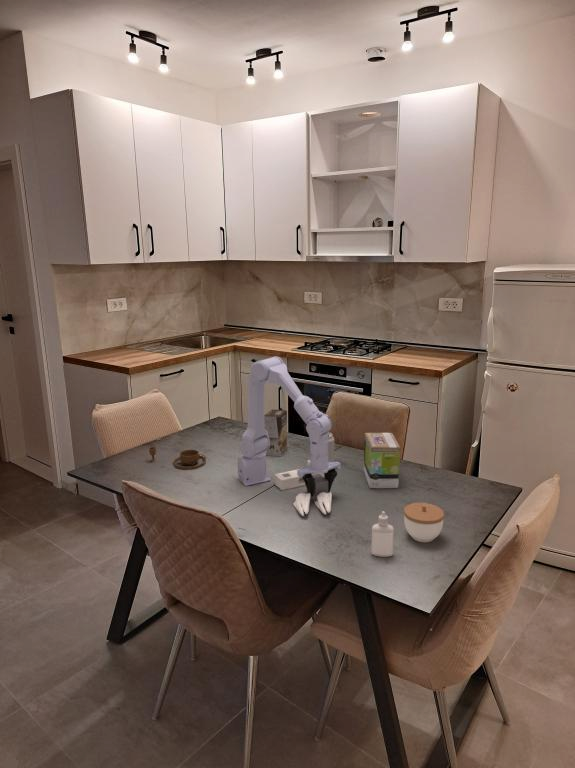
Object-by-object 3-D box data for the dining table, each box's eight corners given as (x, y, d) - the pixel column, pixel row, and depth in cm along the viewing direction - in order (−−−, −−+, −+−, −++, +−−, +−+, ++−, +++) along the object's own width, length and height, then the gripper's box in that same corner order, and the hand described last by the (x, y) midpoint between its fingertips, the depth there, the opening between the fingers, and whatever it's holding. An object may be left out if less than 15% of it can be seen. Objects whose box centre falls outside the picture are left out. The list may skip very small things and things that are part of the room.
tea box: (399, 488, 184) (401, 446, 180) (369, 489, 184) (370, 447, 180) (390, 470, 198) (392, 431, 194) (362, 470, 198) (363, 431, 194)
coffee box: (280, 457, 212) (279, 417, 208) (264, 455, 214) (263, 415, 210) (287, 448, 220) (287, 410, 216) (272, 447, 222) (271, 408, 218)
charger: (315, 502, 174) (315, 483, 173) (302, 491, 182) (302, 473, 180) (328, 499, 176) (328, 480, 175) (314, 488, 184) (314, 470, 182)
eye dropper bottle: (387, 560, 142) (389, 518, 139) (368, 553, 145) (369, 512, 142) (395, 553, 145) (397, 511, 142) (376, 546, 149) (377, 505, 146)
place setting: (181, 476, 196) (180, 461, 195) (146, 463, 209) (145, 448, 207) (217, 461, 209) (217, 447, 208) (183, 450, 222) (182, 436, 220)
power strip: (281, 490, 183) (281, 478, 182) (274, 484, 188) (274, 472, 187) (328, 479, 191) (329, 468, 190) (320, 474, 196) (321, 462, 195)
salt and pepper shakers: (293, 502, 175) (290, 520, 164) (293, 490, 174) (290, 507, 163) (331, 503, 174) (331, 521, 163) (331, 491, 173) (331, 508, 162)
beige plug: (312, 472, 188) (312, 464, 187) (307, 468, 191) (307, 460, 191) (321, 470, 190) (321, 462, 189) (316, 466, 193) (316, 458, 192)
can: (334, 469, 200) (335, 437, 197) (313, 469, 200) (313, 437, 197) (333, 461, 207) (333, 430, 204) (313, 461, 207) (313, 430, 204)
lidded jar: (420, 523, 161) (421, 493, 158) (450, 538, 152) (452, 507, 150) (394, 535, 155) (395, 504, 152) (425, 551, 146) (426, 519, 144)
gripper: (304, 461, 167) (304, 503, 170) (345, 453, 173) (345, 493, 176) (294, 454, 173) (294, 494, 176) (334, 446, 179) (333, 485, 182)
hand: (319, 493), depth 177 cm, fingers open, 6 cm apart
